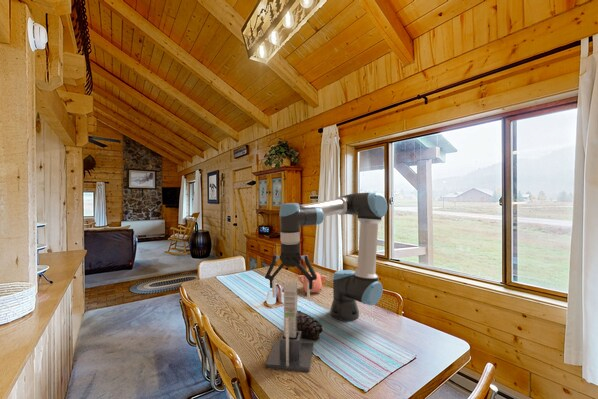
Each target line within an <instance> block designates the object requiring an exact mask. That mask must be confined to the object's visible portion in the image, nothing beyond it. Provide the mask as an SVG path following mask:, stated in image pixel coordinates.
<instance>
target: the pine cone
mask: <svg viewBox="0 0 598 399" xmlns="http://www.w3.org/2000/svg"><path fill="white" fill-rule="evenodd" d="M297 331H302V340H307V341H310V340H311V341H312V342H318V341H320V335H321V333H323V325H322V324H321V323H320V321H318V320H317V319H316V318H315V317H312V315H310V314H308V313H305V312H303V311H301V310H298V309H297Z"/></svg>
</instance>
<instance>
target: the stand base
mask: <svg viewBox="0 0 598 399" xmlns="http://www.w3.org/2000/svg"><path fill="white" fill-rule="evenodd" d="M289 321H290V318H289V316H286V337H284V329H283V330H282V332H281V335H280V338H279V340H275V341H274V343H273V347H272V348H271V351H270V353H269V355H268V358H267V361H266V362H265V369H271V370H283V371H293V372H295V371H296V372H310V370H311V364H312V357H313V351H314V343H310V342H303V339H302V331H297V335H296V338H289Z"/></svg>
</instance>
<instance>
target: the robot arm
mask: <svg viewBox="0 0 598 399" xmlns="http://www.w3.org/2000/svg"><path fill="white" fill-rule="evenodd" d="M387 211H388V201H387V199H386V198H385V196H384V195H383V194H381V193H379V192H354V193H349V194H345V195H341V196H337V197H335V199H330V200H323V201H317V202H311V203H304V204H299V203H298V202H286V203H281V204H280V206H279V226H280V242H281V243H280V255H279V254H276V253H275V254H273V256H272V262H271V263H270V264H269V267H268V269H267V271H266V273H265V276H264V278H265V279H267V280H269V288H270V289H272V292H271V293H272V298H276V296H277V283H276V282H277V280H276V278H275V277H276V276H277V275H278V273H279V272H280V271H281V270H282V269H283V268H284V267H286V268H290V267H291V268H297V269H299V271H300V272H301V273H302V275H304V276H305V277H306V278H307V279H308V280H307V294H306V298H307V300H308V299H310V297H311V292H310V289H312V287H313V285H312V281H313V280H316V279H317V275H316V273H315V272H316V271H315V269H314V267H313V266H312V264H311V261H310V259H309V255H308V254H305V255H302V254H301V244H300V241H301V239H300V238H301V236H300V235H301V233H300V230H301V229H300V227H308V226H317V225H321V224H322V223H323V222H324V219H325V217H328V216H334V215H340V216H344V215H350V216H351V215H353V216H357V218H356V219H357V221H359V238H358V240H359V241H358V253H357V254H358V255H357V256H358V257H357V270H356V271H355V270H353V269H342V270H341V269H340V270H337V271H335V272H334V273H333V275H332V276H333V277H332V291H333V292H332V294H333V296H332V297H333V299H332V302H331V306H330V308H329V315H330V316H331V318H333V319H336V320H338V321H342V322H343V321H344V322H345V321H348V322H349V321H350V322H351V321H355V320H357V319H358V318H359V317H360V311H359V307H358V305H357V302H359V303H362V304H363V305H367V306H375V305H377V304H378V303H379V301H380V300H381V298H382V295H383V293H384V292H383V291H384V289H383V288H384V287H383V284H382V283H381V282H380V281H379V275H378V274H377V273H376V268H377V266H376V265H377V251H378V250H377V249H378V248H377V247H378V233H379V232H378V231H379V230H378V229H379V228H378V227H379V224H380V223H381V222H382V218H383V217H384V216H386V214H387ZM279 260H280V261H281V263H280V265H279V266H278V268H276V270H275V271H274V272H273V274H272V271H273V269H274V267H275V265H276V264H277V261H279ZM301 260H302V261H303V262H304V263H305V264H306V267H307V269H306V267H305V266H303V264H302V263H301ZM307 270H308V271H307ZM308 272H310V273H311V275H312V276H311V275H310V274H309V273H308ZM271 274H272V275H271Z"/></svg>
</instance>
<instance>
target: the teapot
mask: <svg viewBox="0 0 598 399" xmlns="http://www.w3.org/2000/svg"><path fill="white" fill-rule="evenodd" d="M307 272H308V273H309V274H310V275H311V273H310V271H307ZM315 273H316V275H317V279H316V280H313V281H312V285H313V287H312V289H310V293H315V294H316V295H319V294H320V293H321V291H322V288H323V284H324V283H325V282H326V280H327V279H328V278H327V277H328V276H327V275H323V274H322V275H321V274H320V272H316V271H315ZM311 276H312V275H311ZM302 278H303V280H302ZM322 278H323V279H322ZM297 279H298V281H299V282H300V283H301V284H302V287H303V290H304V292H305V294H306V295H307V280H308V279H307V278H306V277H305V275H304V274H301V275H298V276H297Z"/></svg>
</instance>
